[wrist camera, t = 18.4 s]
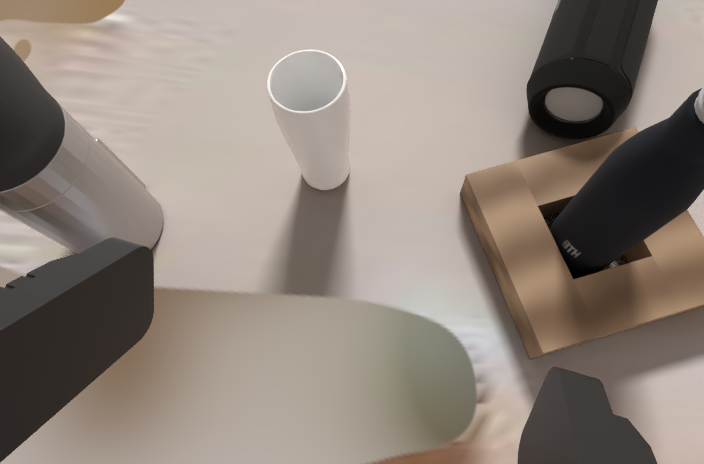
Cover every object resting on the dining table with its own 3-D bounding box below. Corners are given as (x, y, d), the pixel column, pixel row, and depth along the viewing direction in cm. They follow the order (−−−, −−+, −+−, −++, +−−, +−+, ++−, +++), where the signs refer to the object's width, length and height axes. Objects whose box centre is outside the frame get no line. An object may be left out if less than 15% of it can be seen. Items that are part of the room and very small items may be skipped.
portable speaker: (566, -27, 62) (599, -107, 53) (645, -8, 60) (694, -88, 51) (509, 127, 54) (536, 65, 44) (599, 155, 52) (646, 96, 42)
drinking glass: (320, 210, 51) (297, 129, 37) (284, 167, 53) (249, 77, 39) (369, 174, 52) (364, 83, 38) (332, 134, 54) (314, 35, 41)
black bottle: (611, 226, 48) (922, -42, 21) (604, 285, 46) (943, 73, 18) (547, 211, 49) (760, -64, 22) (537, 268, 47) (761, 42, 19)
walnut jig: (460, 193, 51) (466, 174, 47) (617, 148, 52) (635, 126, 48) (530, 359, 44) (543, 353, 40) (709, 304, 45) (739, 293, 41)
